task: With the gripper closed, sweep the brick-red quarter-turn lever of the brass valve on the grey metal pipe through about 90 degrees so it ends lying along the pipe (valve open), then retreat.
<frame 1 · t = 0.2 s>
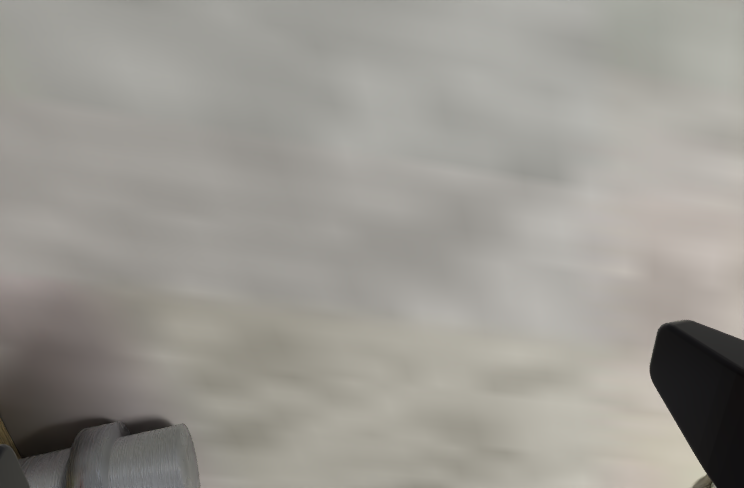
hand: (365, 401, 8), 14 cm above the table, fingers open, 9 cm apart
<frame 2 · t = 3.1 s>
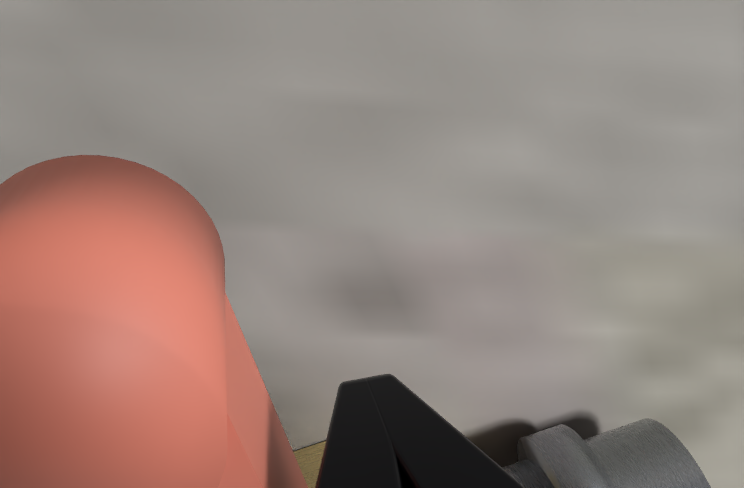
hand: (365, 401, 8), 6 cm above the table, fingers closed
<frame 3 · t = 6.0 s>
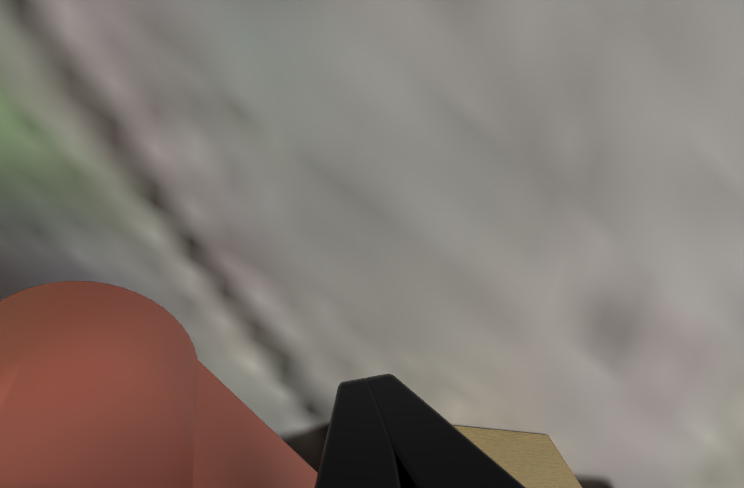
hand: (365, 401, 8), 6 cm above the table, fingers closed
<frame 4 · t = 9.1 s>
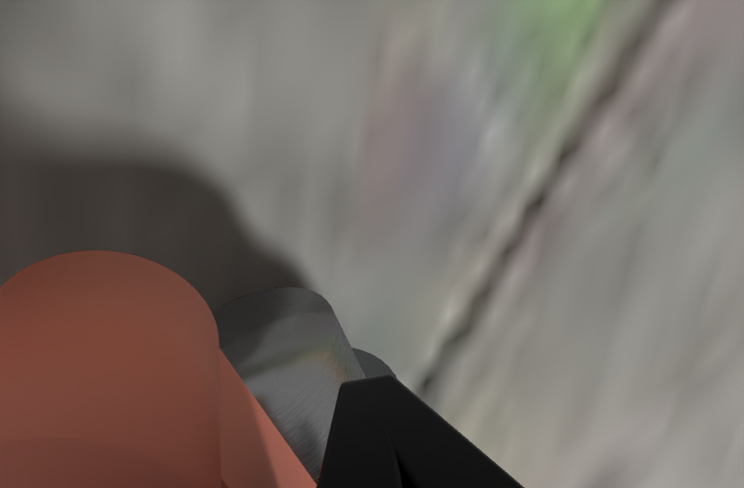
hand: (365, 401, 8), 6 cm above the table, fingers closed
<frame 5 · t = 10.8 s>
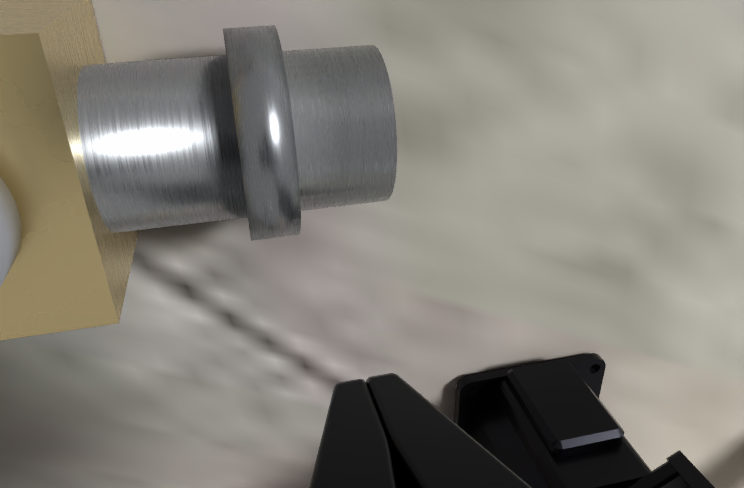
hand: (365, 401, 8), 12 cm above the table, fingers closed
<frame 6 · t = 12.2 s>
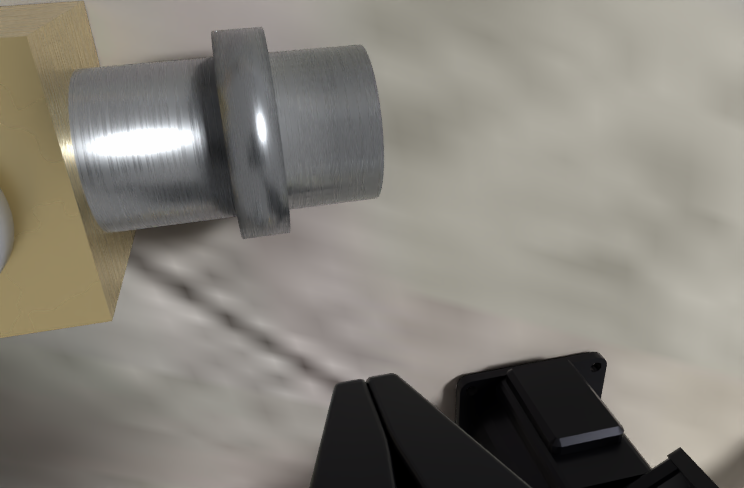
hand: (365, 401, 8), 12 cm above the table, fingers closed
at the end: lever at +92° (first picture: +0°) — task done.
